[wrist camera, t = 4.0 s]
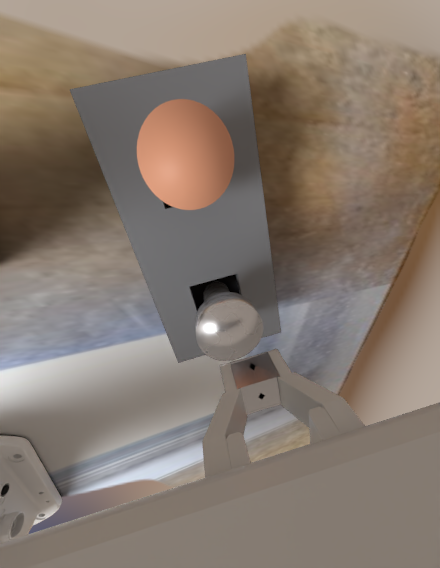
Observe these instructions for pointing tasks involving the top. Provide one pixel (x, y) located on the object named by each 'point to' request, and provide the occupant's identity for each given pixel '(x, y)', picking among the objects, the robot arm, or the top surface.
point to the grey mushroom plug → (226, 324)
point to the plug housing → (176, 222)
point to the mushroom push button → (185, 154)
